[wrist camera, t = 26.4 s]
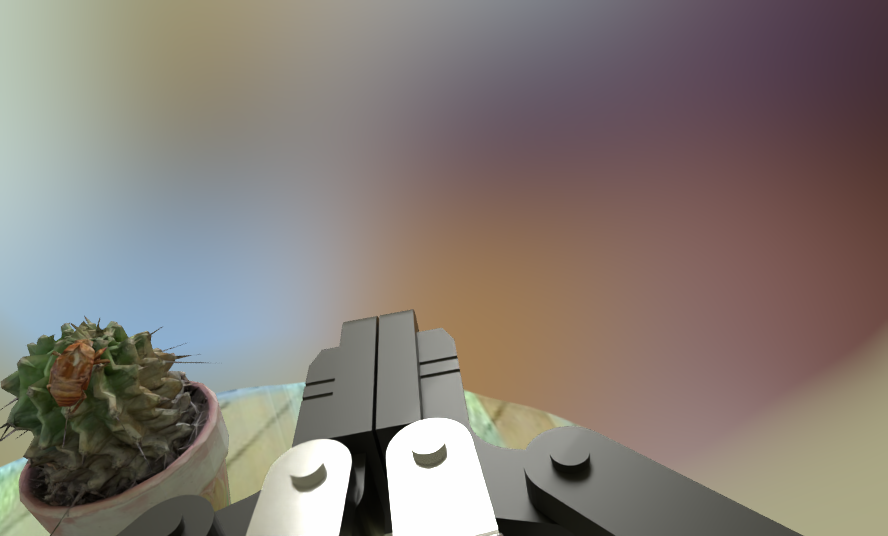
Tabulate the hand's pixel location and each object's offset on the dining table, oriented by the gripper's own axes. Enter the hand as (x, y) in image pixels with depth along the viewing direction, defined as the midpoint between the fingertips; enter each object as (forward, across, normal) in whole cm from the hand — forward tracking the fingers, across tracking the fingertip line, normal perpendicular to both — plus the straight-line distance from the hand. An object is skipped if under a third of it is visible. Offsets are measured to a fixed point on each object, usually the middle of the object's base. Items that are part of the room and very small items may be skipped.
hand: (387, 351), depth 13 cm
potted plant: (+30, +28, +36) cm, 55 cm away
